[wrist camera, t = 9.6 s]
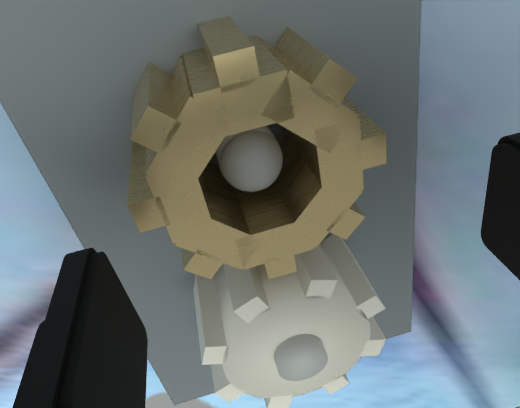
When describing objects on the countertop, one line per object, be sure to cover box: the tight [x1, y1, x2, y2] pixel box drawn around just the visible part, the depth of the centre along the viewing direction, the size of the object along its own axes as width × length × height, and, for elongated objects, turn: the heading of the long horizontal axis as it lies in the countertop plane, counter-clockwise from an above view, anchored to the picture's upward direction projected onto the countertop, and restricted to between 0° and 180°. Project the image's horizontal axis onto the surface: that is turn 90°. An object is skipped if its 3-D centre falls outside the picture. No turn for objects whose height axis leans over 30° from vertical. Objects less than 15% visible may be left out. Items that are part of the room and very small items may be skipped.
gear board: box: [0, 0, 421, 408], centre depth 14 cm, size 14×30×6 cm, turn 11°
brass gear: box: [127, 16, 386, 279], centre depth 14 cm, size 8×8×4 cm
